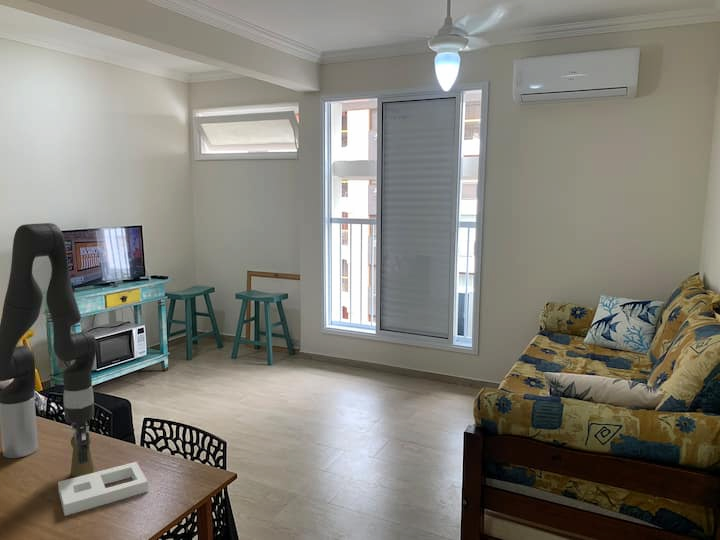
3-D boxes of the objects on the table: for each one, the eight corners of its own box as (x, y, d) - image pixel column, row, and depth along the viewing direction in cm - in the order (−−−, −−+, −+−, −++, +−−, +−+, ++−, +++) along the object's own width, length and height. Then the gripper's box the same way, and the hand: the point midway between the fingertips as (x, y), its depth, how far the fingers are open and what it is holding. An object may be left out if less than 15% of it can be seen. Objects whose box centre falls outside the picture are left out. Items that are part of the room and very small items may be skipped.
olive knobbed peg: (84, 477, 150) (82, 440, 148) (65, 475, 151) (63, 438, 150) (98, 467, 156) (97, 431, 154) (80, 464, 157) (78, 429, 156)
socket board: (58, 492, 143) (57, 481, 143) (136, 471, 155) (136, 461, 154) (64, 516, 133) (63, 504, 132) (148, 491, 144) (147, 481, 144)
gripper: (60, 396, 154) (63, 452, 157) (67, 413, 143) (70, 473, 145) (89, 391, 159) (92, 445, 161) (97, 407, 147) (100, 465, 149)
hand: (81, 458), depth 153 cm, fingers closed on olive knobbed peg, 4 cm apart
